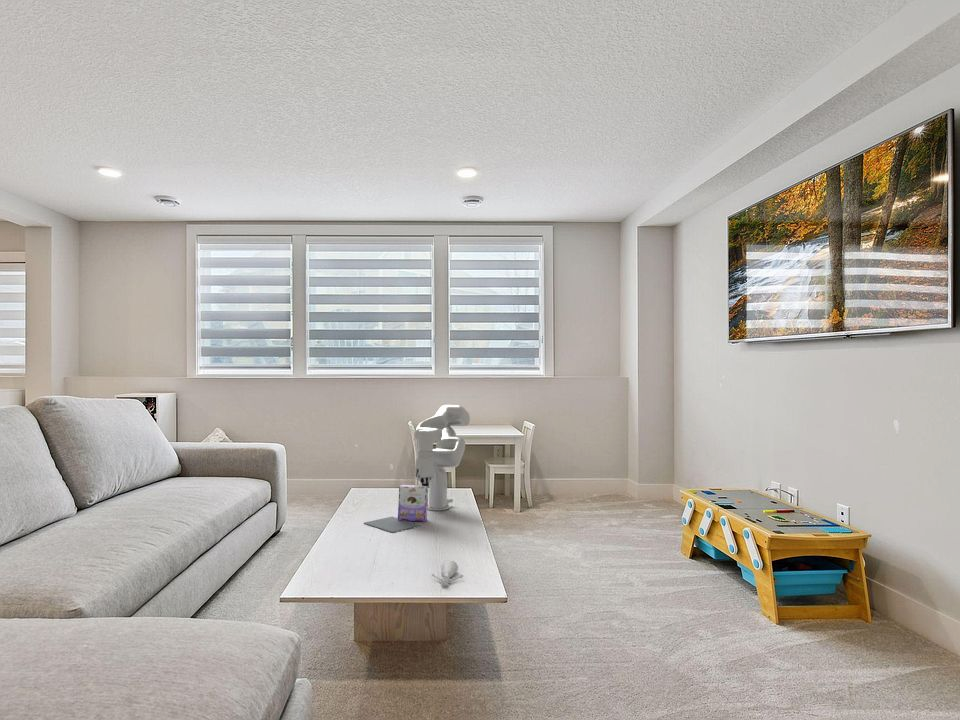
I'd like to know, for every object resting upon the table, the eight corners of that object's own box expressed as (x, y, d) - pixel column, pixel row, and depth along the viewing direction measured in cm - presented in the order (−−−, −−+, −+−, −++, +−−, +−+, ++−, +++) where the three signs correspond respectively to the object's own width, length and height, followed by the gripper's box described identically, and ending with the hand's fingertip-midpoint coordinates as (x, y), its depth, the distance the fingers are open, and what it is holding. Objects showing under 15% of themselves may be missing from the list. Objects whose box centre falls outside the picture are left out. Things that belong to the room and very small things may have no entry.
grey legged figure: (466, 558, 218) (461, 579, 200) (466, 570, 218) (461, 591, 200) (435, 557, 219) (427, 577, 201) (435, 568, 219) (427, 590, 201)
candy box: (427, 519, 290) (429, 485, 291) (425, 521, 284) (426, 487, 285) (399, 517, 292) (401, 483, 293) (397, 519, 286) (399, 485, 287)
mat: (391, 517, 293) (391, 516, 293) (420, 526, 278) (420, 525, 278) (363, 523, 280) (363, 522, 280) (392, 533, 265) (392, 531, 265)
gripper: (431, 452, 302) (431, 488, 302) (409, 455, 291) (408, 492, 291) (441, 453, 297) (441, 490, 297) (419, 456, 286) (418, 494, 286)
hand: (424, 491), depth 294 cm, fingers closed
